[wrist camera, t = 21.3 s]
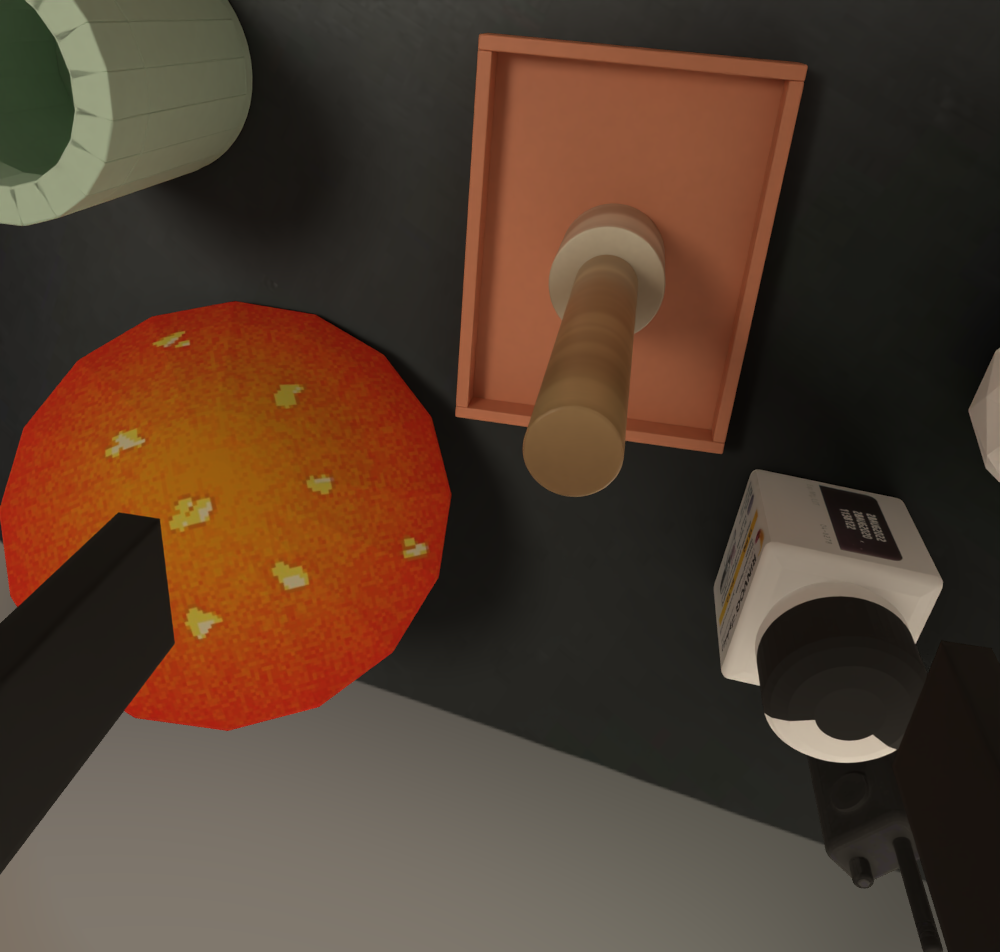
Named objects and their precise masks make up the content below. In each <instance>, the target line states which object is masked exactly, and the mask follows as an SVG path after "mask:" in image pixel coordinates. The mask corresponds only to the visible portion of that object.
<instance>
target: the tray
mask: <svg viewBox="0 0 1000 952" xmlns="http://www.w3.org/2000/svg"><path fill="white" fill-rule="evenodd" d="M478 49H479V50H478V58H477V74H476V90H475V107H474V123H473V139H472V155H471V171H470V187H469V203H468V219H467V235H466V251H465V267H464V283H463V300H462V316H461V332H460V348H459V364H458V380H457V396H456V413H455V416H456V417H461V418H468V419H475V420H482V421H489V422H497V423H504V424H511V425H518V426H525V427H528V425H529V422H530V418H531V415H532V412H533V409H534V406H535V403H536V400H537V397H538V394H539V390H540V387H541V384H542V381H543V378H544V375H545V372H546V369H547V366H548V362H549V359H550V356H551V353H552V350H553V347H554V344H555V341H556V337H557V334H558V331H559V328H560V325H561V322H562V320H561V319H560V317H559V316H558V315H557V313H556V311H555V309H554V307H553V305H552V302H551V299H550V294H549V286H548V285H549V274H550V269H551V266H552V263H553V261H554V259H555V256H556V254H557V252H558V249H559V247H560V245H561V242H562V240H563V238H564V236H565V233H566V231H567V230H568V228H569V227H570V225H571V224H572V223H573V222H574V220H575V219H576V218H578V217H579V216H580V215H581V214H582V213H584V212H585V211H587V210H589V209H591V208H593V207H596V206H599V205H603V204H611V203H614V204H624V205H628V206H631V207H634V208H636V209H638V210H640V211H641V212H643V213H644V214H646V215H647V216H648V217H649V218H650V219H651V220H652V221H653V222H654V224H655V225H656V226H657V228H658V230H659V232H660V234H661V236H662V239H663V242H664V248H665V293H664V297H663V301H662V303H661V306H660V308H659V310H658V312H657V313H656V315H655V316H654V318H653V319H652V320H651V321H650V322H649V323H648V324H647V325H646V326H645V327H644V328H643V329H641V330H640V331H638V332H637V333H635V334H634V341H633V353H632V365H631V377H630V389H629V401H628V412H627V424H626V436H625V441H632V442H639V443H646V444H653V445H660V446H668V447H675V448H682V449H689V450H696V451H703V452H710V453H717V454H722V453H723V449H724V445H725V444H724V443H725V440H726V436H727V431H728V427H729V422H730V417H731V413H732V408H733V404H734V399H735V395H736V390H737V386H738V381H739V377H740V372H741V368H742V363H743V359H744V354H745V349H746V345H747V340H748V336H749V331H750V327H751V322H752V318H753V313H754V309H755V304H756V300H757V295H758V291H759V286H760V281H761V277H762V272H763V268H764V263H765V259H766V254H767V250H768V245H769V241H770V236H771V232H772V227H773V223H774V218H775V213H776V209H777V204H778V200H779V195H780V191H781V186H782V182H783V177H784V173H785V168H786V164H787V159H788V155H789V150H790V146H791V141H792V136H793V132H794V127H795V123H796V118H797V114H798V109H799V105H800V100H801V96H802V91H803V87H804V82H803V81H804V80H805V78H806V73H807V68H808V66H807V65H805V64H802V63H799V62H789V61H778V60H768V59H757V58H747V57H736V56H726V55H715V54H705V53H694V52H684V51H673V50H663V49H652V48H642V47H631V46H621V45H610V44H600V43H589V42H579V41H568V40H558V39H547V38H537V37H526V36H516V35H506V34H495V33H484V34H479V43H478Z"/></svg>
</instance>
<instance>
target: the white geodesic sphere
mask: <svg viewBox="0 0 1000 952" xmlns="http://www.w3.org/2000/svg"><path fill="white" fill-rule="evenodd" d="M968 411H969V415H970V418H971V421H972V424H973V428H974V431H975V434H976V438H977V441H978V444H979V447H980V451H981V454H982V457H983V461H984V464H985V467H986V469H987V470H988V471H989V472H990V473H991V474H992V475H993V476H994V477H995V478H996V479H997V480H998V481H999V482H1000V348H999V349H998V350H996V351H995V353H994V356H993V358H992V360H991V362H990V364H989V366H988V369H987V371H986V373H985V375H984V377H983V379H982V382H981V384H980V386H979V388H978V390H977V392H976V395H975V397H974V399H973V401H972V403H971V405H970V407H969V410H968Z"/></svg>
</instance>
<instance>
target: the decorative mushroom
mask: <svg viewBox="0 0 1000 952" xmlns="http://www.w3.org/2000/svg"><path fill="white" fill-rule="evenodd" d="M450 501H451V491H450V487H449V483H448V479H447V475H446V471H445V467H444V463H443V459H442V455H441V452H440V448H439V444H438V440H437V436H436V432H435V428H434V424H433V420H432V417H431V416H430V414H429V413H428V412H427V410H426V409H425V408H424V406H423V405H422V404H421V403H420V401H419V400H418V399H417V397H416V396H415V395H414V393H413V392H412V391H411V389H410V388H409V387H408V386H407V384H406V383H405V382H404V380H403V379H402V378H401V376H400V375H399V374H398V372H397V371H396V370H395V369H394V367H393V366H392V365H391V363H390V362H389V361H388V359H387V358H386V357H385V355H383V354H382V353H380V352H378V351H377V350H375V349H373V348H372V347H370V346H368V345H366V344H365V343H363V342H361V341H360V340H358V339H356V338H355V337H353V336H351V335H349V334H348V333H346V332H344V331H343V330H341V329H339V328H338V327H336V326H334V325H332V324H331V323H329V322H327V321H326V320H324V319H322V318H321V317H319V316H317V315H315V314H309V313H303V312H297V311H291V310H285V309H279V308H273V307H267V306H261V305H255V304H249V303H243V302H237V301H233V302H227V303H222V304H217V305H211V306H206V307H201V308H195V309H190V310H185V311H179V312H174V313H169V314H163V315H158V316H153V317H151V318H149V319H147V320H145V321H144V322H142V323H140V324H139V325H137V326H135V327H134V328H132V329H130V330H129V331H127V332H125V333H123V334H122V335H120V336H118V337H117V338H115V339H113V340H112V341H110V342H108V343H107V344H105V345H103V346H101V347H100V348H98V349H96V350H95V351H93V352H91V353H90V354H88V355H86V356H84V357H83V358H81V359H79V360H78V361H77V362H76V364H75V365H74V366H73V367H72V368H71V370H70V371H69V372H68V373H67V375H66V376H65V377H64V378H63V380H62V381H61V382H60V383H59V385H58V386H57V387H56V388H55V390H54V391H53V392H52V393H51V395H50V396H49V397H48V398H47V400H46V401H45V402H44V403H43V405H42V406H41V407H40V408H39V410H38V411H37V412H36V413H35V415H34V416H33V417H32V418H31V419H30V421H29V422H28V423H27V424H26V426H25V427H24V429H23V432H22V436H21V439H20V442H19V446H18V449H17V452H16V456H15V459H14V462H13V466H12V469H11V473H10V476H9V479H8V483H7V486H6V489H5V493H4V496H3V499H2V503H1V506H0V521H1V528H2V536H3V544H4V551H5V559H6V566H7V573H8V581H9V589H10V596H11V598H12V599H13V601H14V603H15V604H16V606H17V607H18V606H19V605H20V604H21V603H22V602H24V601H25V600H26V599H27V598H28V597H29V596H30V595H31V594H32V593H33V592H34V591H35V590H36V589H37V588H38V587H39V586H41V585H42V584H43V583H44V582H45V581H46V580H47V579H48V578H49V577H50V576H51V575H52V574H53V573H54V572H55V571H56V570H58V569H59V568H60V567H61V566H62V565H63V564H64V563H65V562H66V561H67V560H68V559H69V558H70V557H71V556H72V555H73V554H75V553H76V552H77V551H78V550H79V549H80V548H81V547H82V546H83V545H84V544H85V543H86V542H87V541H88V540H89V539H90V538H92V537H93V536H94V535H95V534H96V533H97V532H98V531H99V530H100V529H101V528H102V527H103V526H104V525H105V524H106V523H107V522H109V521H110V520H111V519H112V518H113V517H114V516H115V515H116V514H117V513H118V512H120V513H127V514H133V515H140V516H146V517H152V518H159V519H160V523H161V532H162V540H163V548H164V557H165V565H166V573H167V581H168V590H169V598H170V606H171V615H172V623H173V631H174V640H175V644H174V645H173V647H172V648H171V649H170V651H169V652H168V653H167V655H166V656H165V657H164V659H163V660H162V661H161V663H160V664H159V665H158V667H157V668H156V669H155V671H154V672H153V673H152V674H151V676H150V677H149V678H148V680H147V681H146V682H145V684H144V685H143V686H142V688H141V689H140V690H139V692H138V693H137V694H136V696H135V697H134V698H133V700H132V701H131V702H130V704H129V705H128V706H127V708H126V709H125V710H124V711H125V712H127V713H128V714H130V715H131V716H133V717H135V718H140V719H146V720H154V721H161V722H168V723H175V724H183V725H190V726H198V727H204V728H211V729H219V730H226V731H229V730H233V729H237V728H240V727H244V726H248V725H252V724H256V723H260V722H263V721H267V720H271V719H275V718H279V717H282V716H286V715H290V714H294V713H298V712H301V711H305V710H309V709H313V708H317V707H320V706H321V705H322V704H324V703H325V702H326V701H328V700H329V699H330V698H332V697H333V696H334V695H336V694H337V693H338V692H340V691H341V690H342V689H344V688H345V687H346V686H348V685H349V684H350V683H352V682H353V681H355V680H356V679H357V678H359V677H360V676H361V675H363V674H364V673H365V672H367V671H368V670H369V669H371V668H372V667H373V666H375V665H376V664H377V663H379V662H380V661H381V660H383V659H384V658H385V657H387V656H388V655H390V654H391V653H392V652H393V651H394V649H395V648H396V646H397V644H398V643H399V641H400V640H401V638H402V636H403V635H404V633H405V631H406V630H407V628H408V626H409V625H410V623H411V622H412V620H413V618H414V617H415V615H416V613H417V612H418V610H419V608H420V607H421V605H422V604H423V602H424V600H425V599H426V597H427V595H428V594H429V592H430V590H431V589H432V587H433V586H434V584H435V582H436V581H437V579H438V577H439V572H440V565H441V559H442V552H443V546H444V539H445V533H446V527H447V520H448V514H449V507H450Z"/></svg>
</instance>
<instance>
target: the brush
mask: <svg viewBox="0 0 1000 952" xmlns="http://www.w3.org/2000/svg"><path fill="white" fill-rule="evenodd" d="M548 286H549V294H550V299H551V302H552V305H553V307H554V309H555V311H556V313H557V315H558V316H559V317H560V319H561V320H562V322H561V325H560V328H559V331H558V334H557V337H556V341H555V344H554V347H553V350H552V353H551V356H550V359H549V362H548V366H547V369H546V372H545V375H544V378H543V381H542V384H541V387H540V390H539V394H538V397H537V400H536V403H535V406H534V409H533V412H532V415H531V418H530V422H529V425H528V428H527V431H526V434H525V437H524V441H523V457H524V461H525V464H526V466H527V468H528V470H529V472H530V474H531V475H532V476H533V477H534V479H535V480H536V481H537V482H538V483H539V484H541V485H542V486H543V487H545V488H546V489H548V490H550V491H552V492H554V493H557V494H560V495H564V496H571V497H580V496H586V495H590V494H593V493H596V492H598V491H600V490H602V489H604V488H605V487H606V486H608V485H609V484H610V483H611V482H612V481H613V480H614V479H615V477H616V476H617V475H618V473H619V471H620V469H621V467H622V463H623V459H624V448H625V436H626V424H627V412H628V401H629V389H630V377H631V365H632V353H633V341H634V334H635V333H637V332H638V331H640V330H641V329H643V328H644V327H645V326H646V325H647V324H648V323H649V322H650V321H651V320H652V319H653V318H654V316H655V315H656V313H657V312H658V310H659V308H660V306H661V303H662V301H663V297H664V293H665V248H664V242H663V239H662V236H661V234H660V232H659V230H658V228H657V226H656V225H655V224H654V222H653V221H652V220H651V219H650V218H649V217H648V216H647V215H646V214H644V213H643V212H641V211H640V210H638V209H636V208H634V207H631V206H628V205H624V204H614V203H611V204H603V205H599V206H596V207H593V208H591V209H589V210H587V211H585V212H584V213H582V214H581V215H580V216H579V217H578V218H576V219H575V220H574V222H573V223H572V224H571V225H570V227H569V228H568V230H567V231H566V233H565V236H564V238H563V240H562V242H561V245H560V247H559V249H558V252H557V254H556V256H555V259H554V261H553V263H552V266H551V269H550V274H549V285H548Z"/></svg>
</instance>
